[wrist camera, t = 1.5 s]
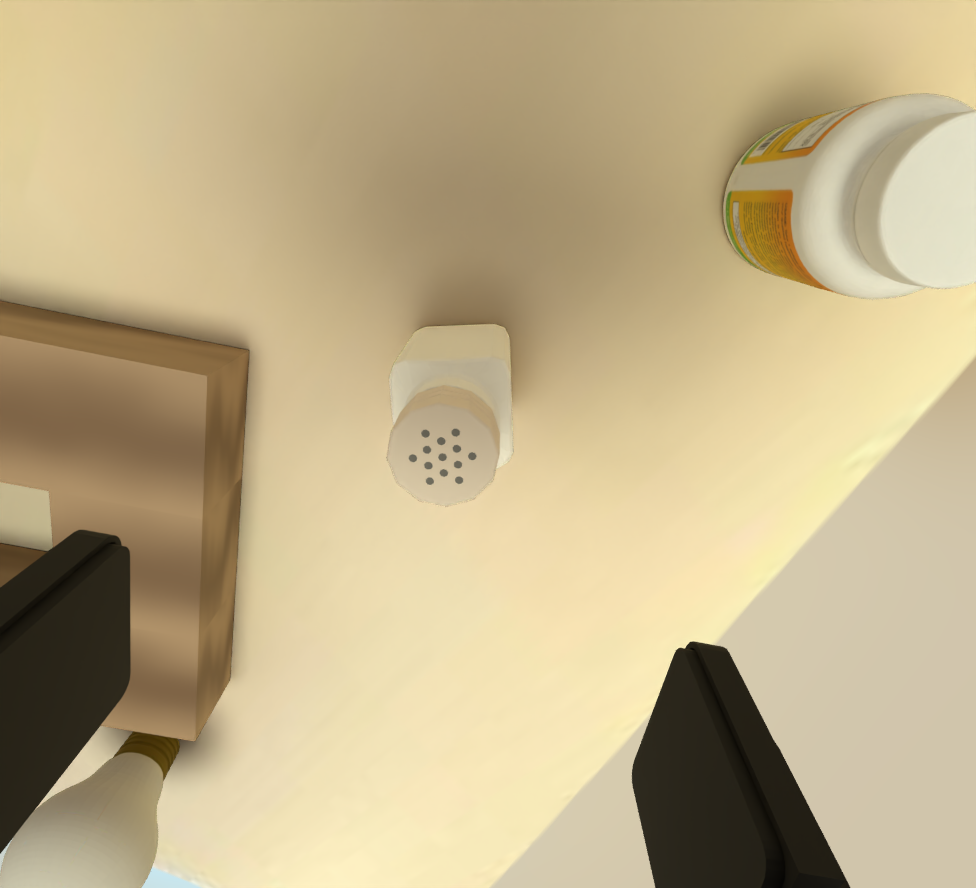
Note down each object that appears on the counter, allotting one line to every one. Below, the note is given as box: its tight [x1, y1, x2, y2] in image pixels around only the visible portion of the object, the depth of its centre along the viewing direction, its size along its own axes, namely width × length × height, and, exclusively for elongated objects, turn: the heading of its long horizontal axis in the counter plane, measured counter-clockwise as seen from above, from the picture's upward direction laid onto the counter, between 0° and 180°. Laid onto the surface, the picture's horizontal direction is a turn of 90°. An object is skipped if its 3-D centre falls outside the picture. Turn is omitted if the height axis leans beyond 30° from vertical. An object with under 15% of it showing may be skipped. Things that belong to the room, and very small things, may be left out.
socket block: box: [0, 301, 249, 741], centre depth 27 cm, size 18×18×4 cm
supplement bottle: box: [723, 93, 976, 299], centre depth 19 cm, size 5×5×10 cm
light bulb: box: [0, 731, 180, 888], centre depth 30 cm, size 6×6×10 cm
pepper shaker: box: [387, 324, 514, 507], centre depth 22 cm, size 4×4×10 cm
